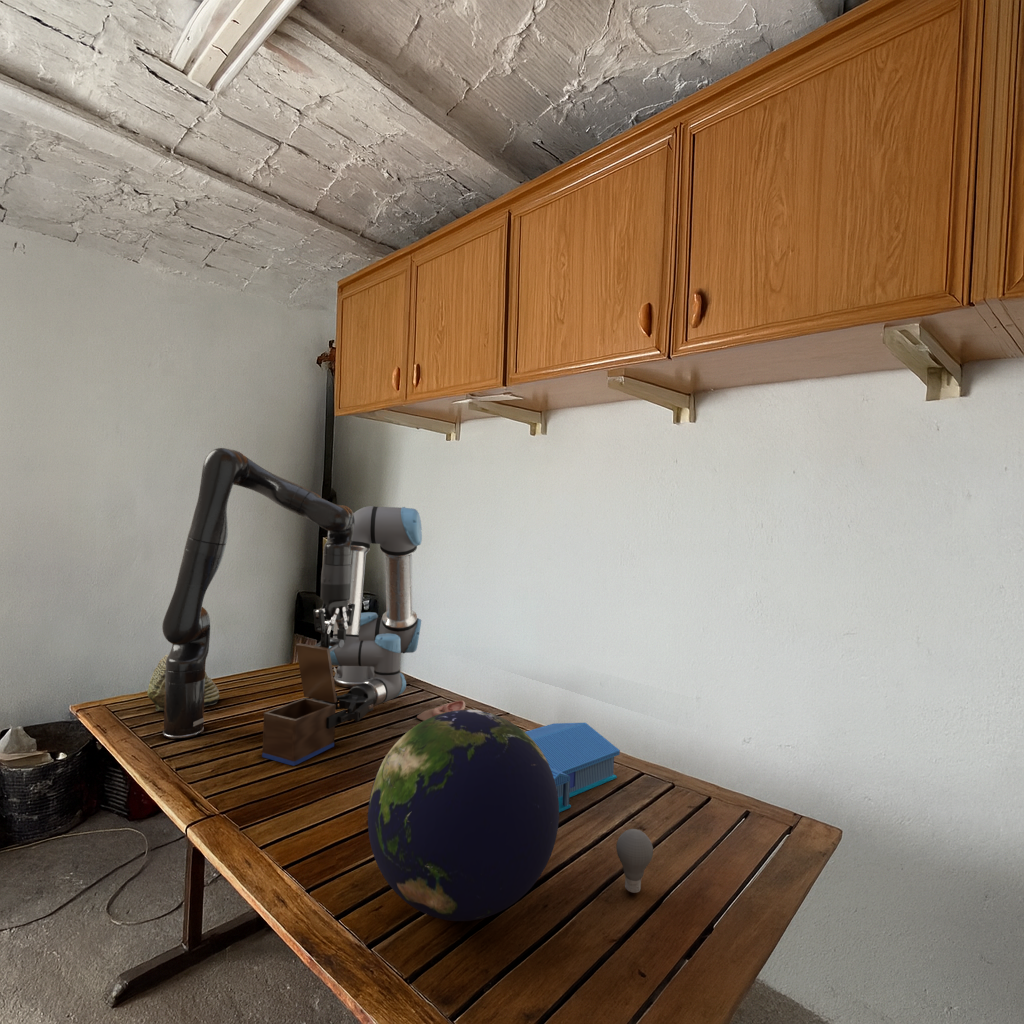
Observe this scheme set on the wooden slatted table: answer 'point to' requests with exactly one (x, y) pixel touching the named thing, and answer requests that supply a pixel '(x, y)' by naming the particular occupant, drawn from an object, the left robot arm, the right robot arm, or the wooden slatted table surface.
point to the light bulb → (634, 857)
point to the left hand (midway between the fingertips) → (333, 645)
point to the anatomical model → (442, 710)
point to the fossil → (158, 687)
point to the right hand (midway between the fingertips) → (310, 719)
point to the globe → (463, 815)
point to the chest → (297, 731)
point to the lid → (318, 670)
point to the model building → (575, 757)
